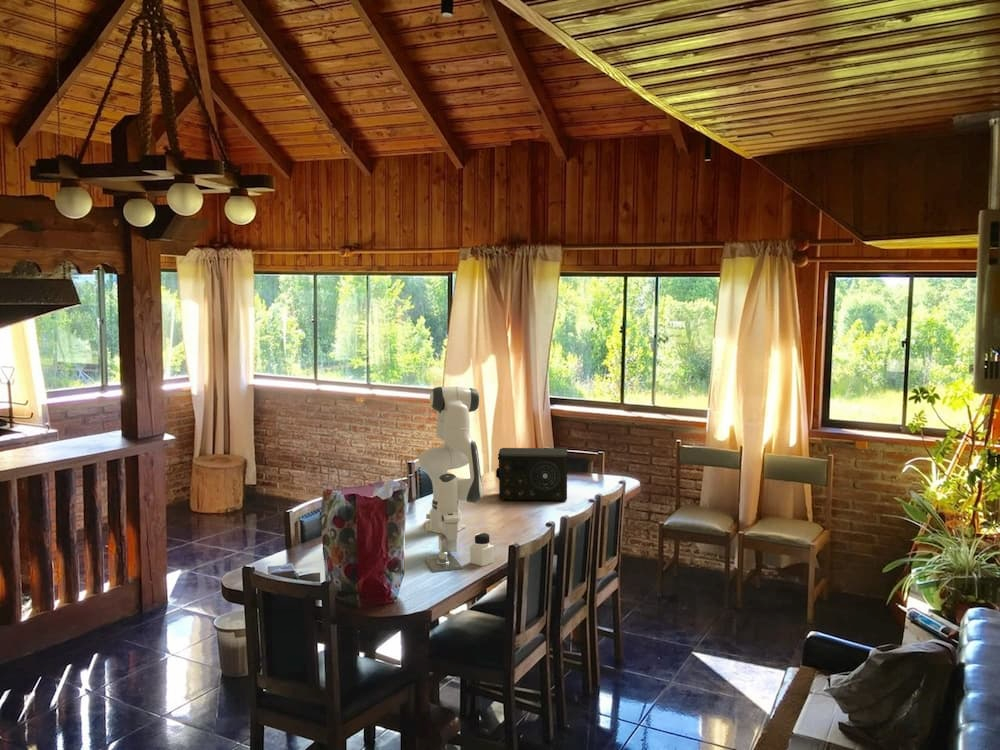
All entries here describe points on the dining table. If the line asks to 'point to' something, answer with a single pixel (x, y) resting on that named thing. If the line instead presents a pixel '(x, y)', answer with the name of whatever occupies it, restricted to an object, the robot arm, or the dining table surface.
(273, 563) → the dining table surface
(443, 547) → the cream brown-topped cube
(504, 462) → the vintage radio
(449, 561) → the duct base
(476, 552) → the medicine bottle
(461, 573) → the dining table surface
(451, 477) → the robot arm
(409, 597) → the dining table surface
